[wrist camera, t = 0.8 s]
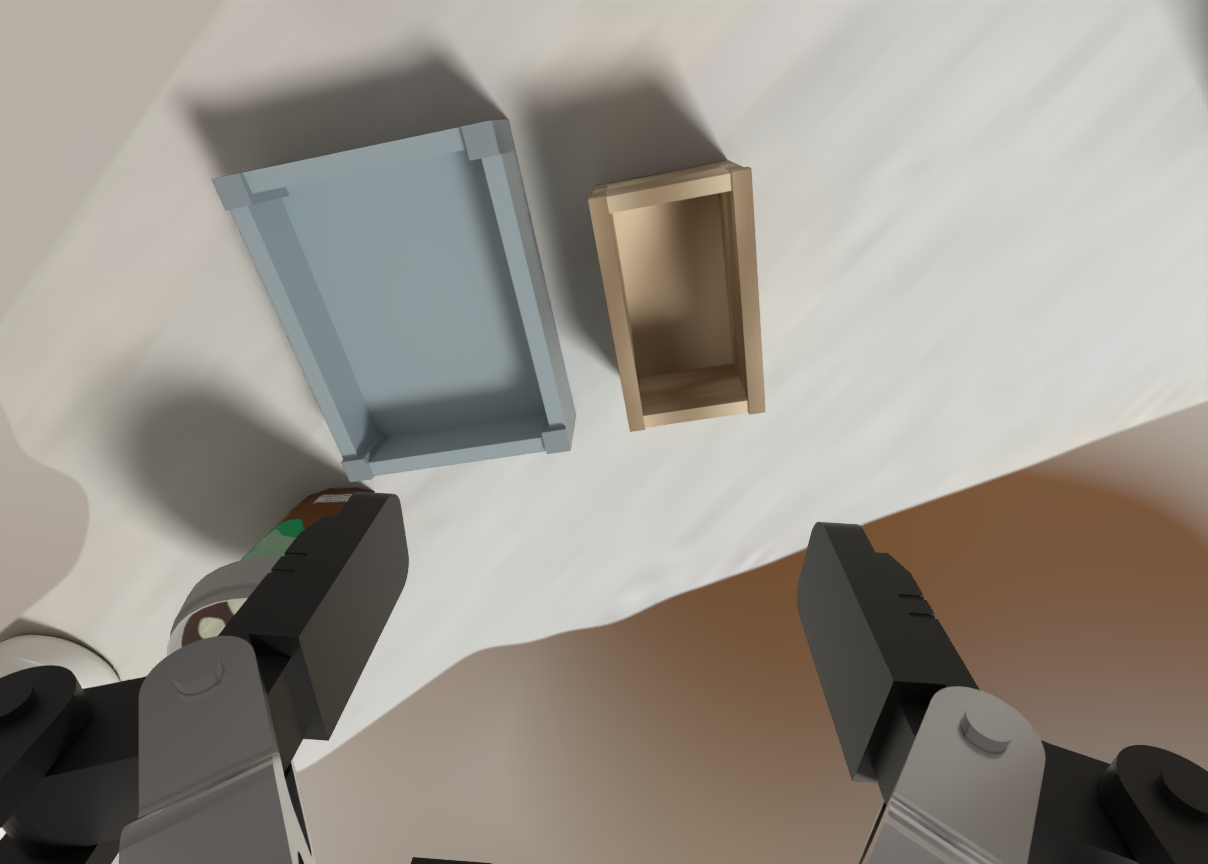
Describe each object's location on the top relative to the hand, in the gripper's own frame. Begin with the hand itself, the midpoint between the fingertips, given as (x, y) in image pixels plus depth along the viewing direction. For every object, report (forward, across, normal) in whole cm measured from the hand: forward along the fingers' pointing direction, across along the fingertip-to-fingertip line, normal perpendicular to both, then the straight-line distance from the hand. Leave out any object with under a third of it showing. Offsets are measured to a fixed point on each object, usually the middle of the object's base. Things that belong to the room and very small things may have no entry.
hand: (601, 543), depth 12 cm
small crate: (+20, -2, 0) cm, 20 cm away
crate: (+20, +9, +2) cm, 22 cm away
